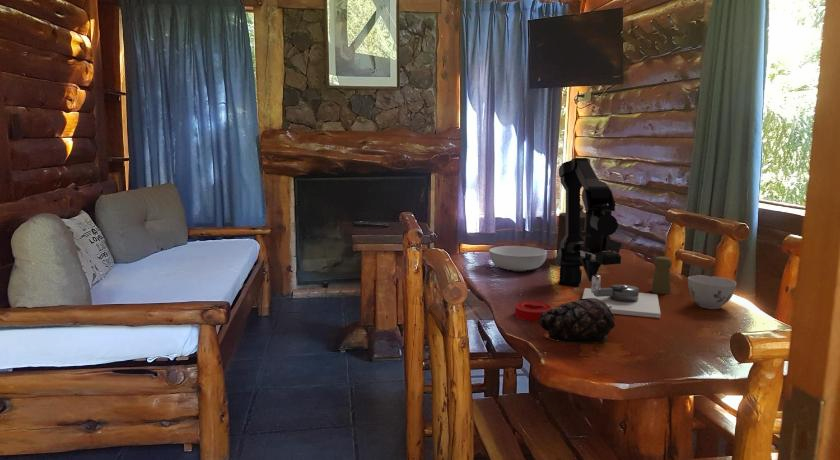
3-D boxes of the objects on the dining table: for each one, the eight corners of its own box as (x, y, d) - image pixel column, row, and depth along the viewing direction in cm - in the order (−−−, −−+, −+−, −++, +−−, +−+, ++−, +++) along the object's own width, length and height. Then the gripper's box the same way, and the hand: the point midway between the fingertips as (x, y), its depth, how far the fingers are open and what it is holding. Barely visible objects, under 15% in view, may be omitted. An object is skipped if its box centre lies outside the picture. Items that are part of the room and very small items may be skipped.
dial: (629, 293, 181) (630, 270, 180) (643, 301, 173) (645, 277, 172) (585, 295, 178) (586, 272, 177) (597, 303, 171) (599, 279, 169)
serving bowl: (554, 267, 223) (555, 249, 222) (533, 278, 206) (534, 258, 205) (503, 260, 234) (503, 243, 233) (478, 270, 217) (479, 251, 216)
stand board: (579, 310, 169) (580, 304, 169) (584, 291, 189) (585, 287, 188) (660, 318, 162) (660, 312, 162) (656, 298, 182) (657, 293, 182)
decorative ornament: (519, 322, 158) (519, 311, 158) (511, 311, 168) (512, 300, 167) (555, 322, 159) (556, 310, 158) (546, 311, 168) (546, 300, 168)
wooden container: (594, 258, 240) (597, 203, 237) (596, 266, 226) (599, 207, 222) (556, 256, 243) (558, 201, 240) (556, 263, 229) (558, 206, 226)
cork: (672, 294, 186) (675, 259, 185) (652, 293, 188) (654, 258, 186) (669, 289, 192) (671, 255, 190) (649, 288, 193) (651, 254, 192)
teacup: (743, 312, 168) (745, 284, 166) (699, 313, 167) (701, 285, 166) (714, 298, 183) (717, 272, 181) (674, 298, 182) (676, 272, 181)
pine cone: (533, 332, 150) (535, 293, 148) (603, 331, 151) (605, 292, 150) (545, 347, 140) (547, 305, 138) (620, 345, 141) (622, 304, 139)
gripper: (639, 233, 167) (635, 287, 170) (599, 222, 185) (595, 271, 188) (605, 235, 164) (601, 291, 167) (567, 223, 181) (564, 274, 184)
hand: (591, 281), depth 176 cm, fingers closed
